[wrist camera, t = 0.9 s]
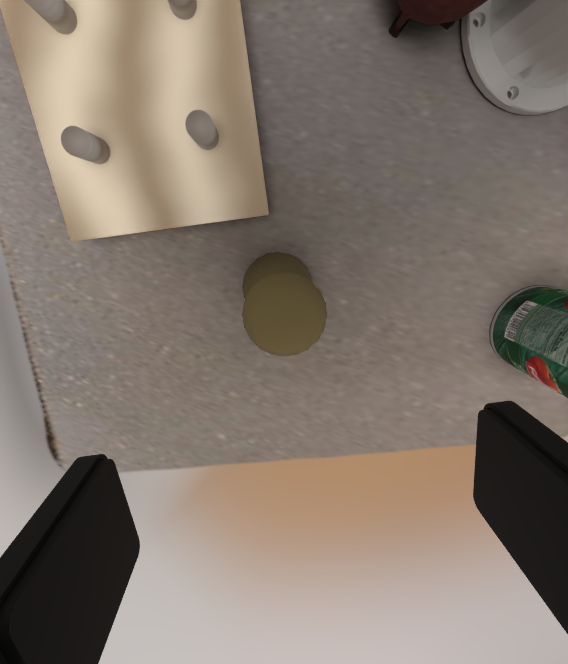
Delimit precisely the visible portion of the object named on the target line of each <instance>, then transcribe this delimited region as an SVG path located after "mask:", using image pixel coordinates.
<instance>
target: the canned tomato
mask: <svg viewBox="0 0 568 664" xmlns="http://www.w3.org/2000/svg"><path fill="white" fill-rule="evenodd" d="M490 341H491V345H492V348H493V350H494V352H495V353H496V354H497V355H498V357H499V358H500V359H502V360H503V361H505V362H506V363H509V364H511V365H513V366H514V367H516V368H517V369H519V370H521V371H522V372H524V373H526V374H528V375H529V376H531V377H533V378H535V379H536V380H538V381H540V382H542V383H543V384H544V385H547V386H548V387H550V388H551V389H553V390H555V391H557V392H558V393H560V394H562V395H564V396H565V397H567V398H568V291H565V290H560V289H556V288H553V287H550V286H545V285H536V286H531V287H527V288H524V289H522V290H519V291H518V292H516V293H514V294H513V295H511V296H510V297H509V298H508V299H507V300H505V301H504V303H503V304H502V305H501V306H500V307H499V309H498V311H497V312H496V314H495V316H494V318H493V321H492V323H491V329H490Z"/></svg>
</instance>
